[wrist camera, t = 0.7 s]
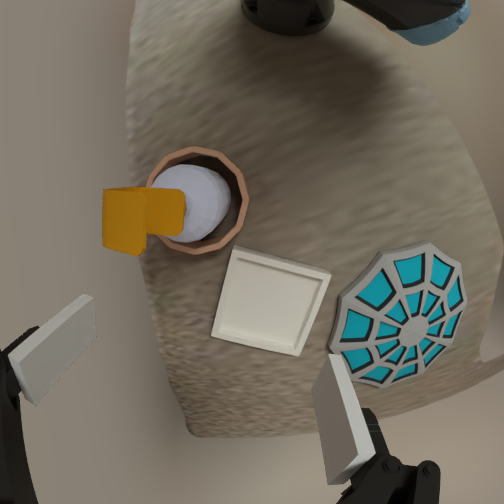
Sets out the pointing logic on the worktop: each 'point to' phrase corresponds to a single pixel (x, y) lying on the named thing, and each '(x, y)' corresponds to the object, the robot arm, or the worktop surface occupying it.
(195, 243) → the holder ring
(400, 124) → the worktop surface
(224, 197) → the soap bottle
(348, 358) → the decorative platform
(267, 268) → the tray
